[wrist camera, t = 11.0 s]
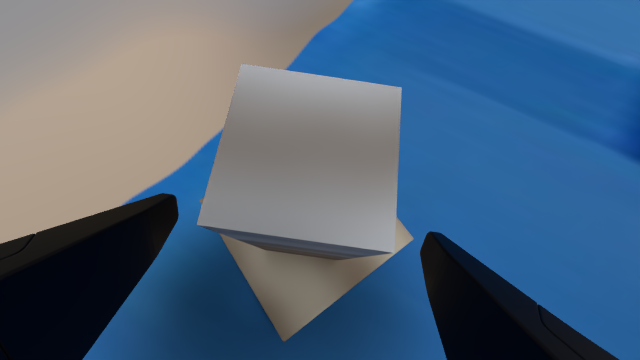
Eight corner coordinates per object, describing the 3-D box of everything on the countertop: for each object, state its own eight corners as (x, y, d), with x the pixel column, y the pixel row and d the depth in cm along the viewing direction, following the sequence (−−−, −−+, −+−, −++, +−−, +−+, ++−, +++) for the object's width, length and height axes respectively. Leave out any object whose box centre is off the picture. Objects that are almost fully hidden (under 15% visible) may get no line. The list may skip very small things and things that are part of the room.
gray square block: (337, 260, 18) (394, 252, 7) (265, 250, 18) (196, 224, 7) (345, 190, 20) (401, 87, 8) (278, 181, 19) (241, 63, 8)
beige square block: (286, 330, 19) (283, 342, 16) (213, 208, 22) (199, 200, 19) (399, 242, 22) (413, 238, 19) (322, 141, 24) (324, 124, 21)
